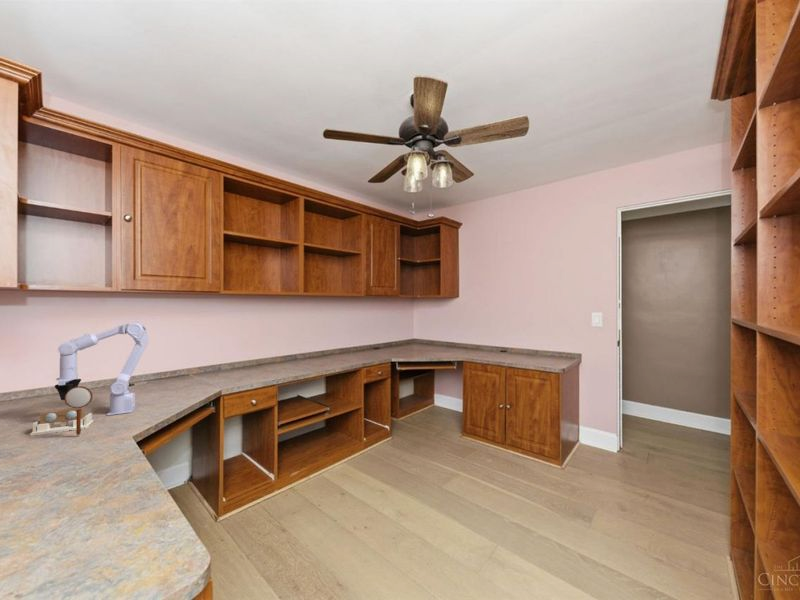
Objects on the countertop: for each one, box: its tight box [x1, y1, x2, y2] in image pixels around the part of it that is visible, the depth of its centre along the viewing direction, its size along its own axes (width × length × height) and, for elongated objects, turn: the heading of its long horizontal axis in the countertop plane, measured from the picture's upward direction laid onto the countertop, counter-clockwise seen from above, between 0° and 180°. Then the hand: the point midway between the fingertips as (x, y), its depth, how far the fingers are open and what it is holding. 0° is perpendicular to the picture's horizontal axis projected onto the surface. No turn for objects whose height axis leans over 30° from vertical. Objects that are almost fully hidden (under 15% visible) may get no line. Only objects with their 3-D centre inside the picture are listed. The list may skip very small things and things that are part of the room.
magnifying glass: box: [64, 385, 93, 437], centre depth 134 cm, size 9×2×20 cm, turn 110°
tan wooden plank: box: [39, 406, 86, 424], centre depth 142 cm, size 13×4×4 cm, turn 117°
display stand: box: [29, 412, 95, 437], centre depth 142 cm, size 17×9×4 cm, turn 117°
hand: (68, 397), depth 153 cm, fingers open, 7 cm apart
